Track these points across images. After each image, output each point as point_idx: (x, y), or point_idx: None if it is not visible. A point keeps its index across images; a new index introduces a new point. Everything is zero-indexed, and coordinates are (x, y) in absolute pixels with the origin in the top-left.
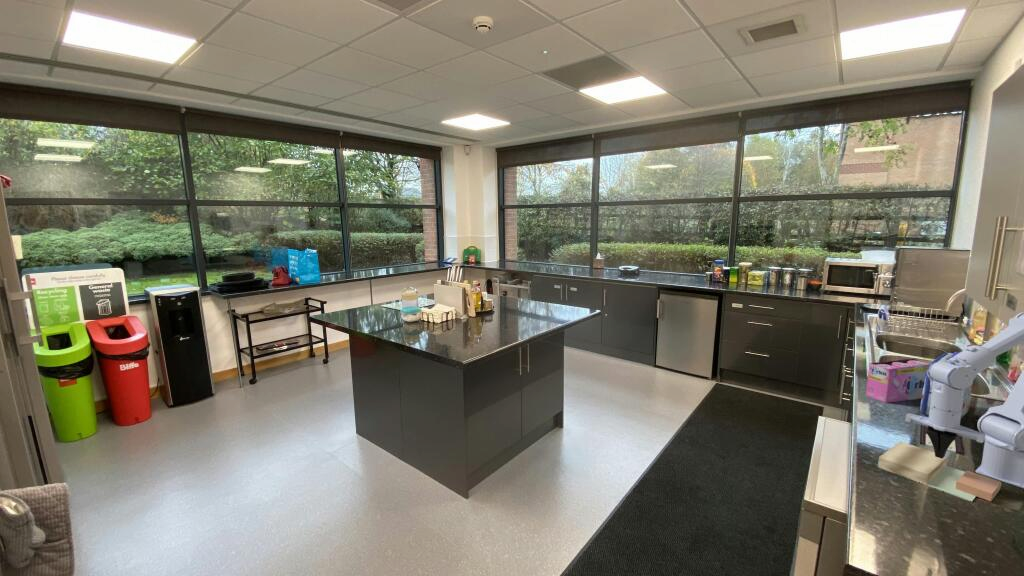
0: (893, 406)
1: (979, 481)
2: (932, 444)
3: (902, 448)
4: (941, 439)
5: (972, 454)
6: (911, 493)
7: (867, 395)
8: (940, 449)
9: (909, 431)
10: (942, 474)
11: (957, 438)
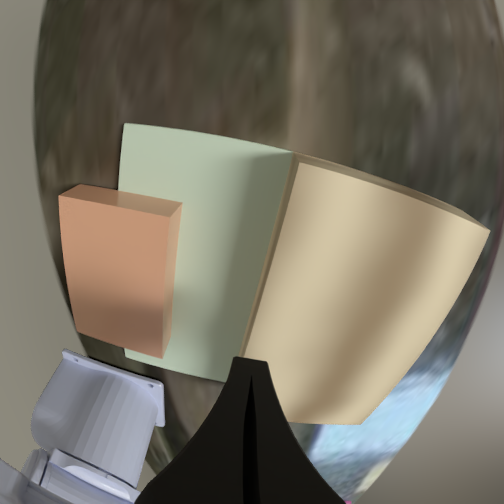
0: None
1: (109, 290)
2: None
3: (370, 388)
4: (234, 484)
5: None
6: (346, 11)
7: (349, 502)
8: (242, 404)
9: None
10: (236, 313)
11: None
